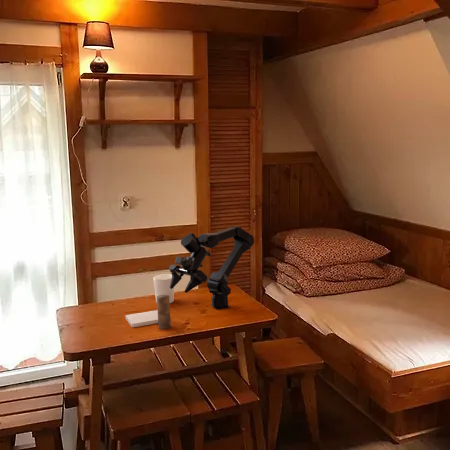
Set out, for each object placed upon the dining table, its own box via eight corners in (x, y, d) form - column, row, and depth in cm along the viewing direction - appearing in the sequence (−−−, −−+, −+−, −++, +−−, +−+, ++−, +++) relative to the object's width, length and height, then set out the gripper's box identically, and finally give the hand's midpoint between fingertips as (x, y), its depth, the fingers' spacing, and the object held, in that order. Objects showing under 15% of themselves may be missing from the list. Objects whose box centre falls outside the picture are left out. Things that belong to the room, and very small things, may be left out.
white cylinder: (157, 298, 257) (156, 273, 254) (177, 298, 255) (176, 273, 253) (152, 304, 247) (150, 279, 245) (172, 304, 246) (171, 279, 244)
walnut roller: (168, 324, 220) (167, 293, 218) (172, 328, 216) (170, 297, 214) (157, 326, 219) (155, 295, 216) (160, 330, 214) (158, 299, 212)
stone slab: (161, 312, 235) (161, 309, 235) (169, 320, 224) (169, 317, 224) (125, 318, 229) (125, 315, 229) (132, 327, 218) (131, 323, 218)
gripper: (171, 245, 228) (152, 276, 222) (201, 251, 215) (181, 283, 209) (185, 260, 235) (167, 290, 229) (215, 266, 222) (197, 298, 216)
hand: (177, 290), depth 221 cm, fingers open, 9 cm apart
